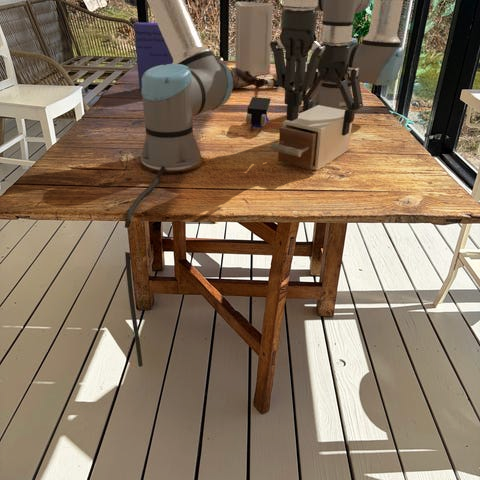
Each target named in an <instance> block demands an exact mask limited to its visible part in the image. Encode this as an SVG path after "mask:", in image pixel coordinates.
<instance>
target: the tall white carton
mask: <svg viewBox="0 0 480 480" xmlns="http://www.w3.org/2000/svg"><path fill="white" fill-rule="evenodd" d="M273 8H274V4H273V3H269V2H267V3H266V2H265V3H264V2H252V1H235V59H234V60H235V62H234V63H235V65H234V66H235V67H234V68H237V69H240V70H242V71H244V72H245V71H249V72H250V73H251V75H252V76H256V77H257V76H259V75H260V76H261V75H266V74H270V73H271V56H272V55H271V54H272V49H271V47H270V42H272V33H273V32H272V31H273V10H274V9H273Z"/></svg>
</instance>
